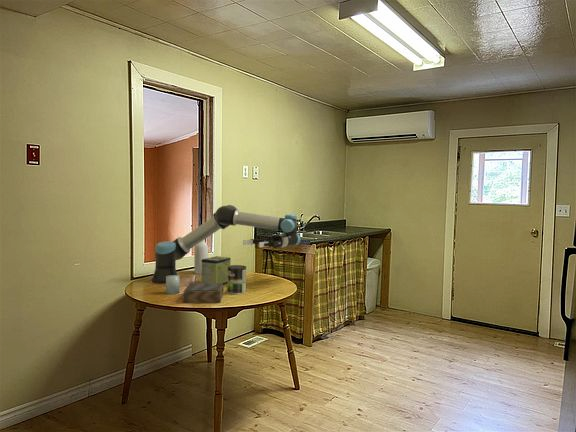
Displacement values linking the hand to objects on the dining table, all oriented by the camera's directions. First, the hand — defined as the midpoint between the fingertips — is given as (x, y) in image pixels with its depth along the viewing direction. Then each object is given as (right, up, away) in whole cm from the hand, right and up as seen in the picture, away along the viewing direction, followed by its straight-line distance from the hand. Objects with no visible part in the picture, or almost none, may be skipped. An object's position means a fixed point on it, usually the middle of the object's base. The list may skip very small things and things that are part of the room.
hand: (251, 243), depth 239 cm
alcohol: (-38, -23, +46) cm, 64 cm away
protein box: (-22, -25, +14) cm, 36 cm away
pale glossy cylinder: (-41, -26, -10) cm, 50 cm away
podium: (-22, -27, -21) cm, 40 cm away
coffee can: (-8, -26, -5) cm, 28 cm away
